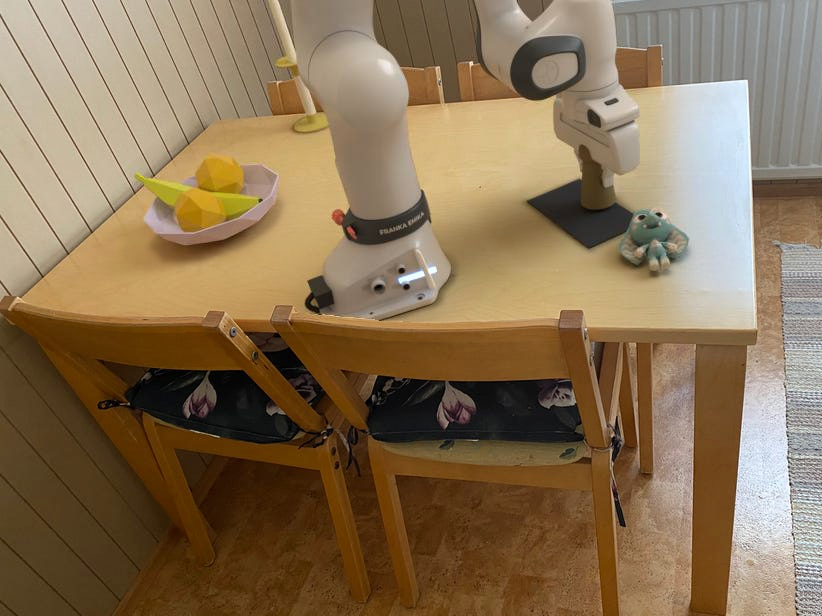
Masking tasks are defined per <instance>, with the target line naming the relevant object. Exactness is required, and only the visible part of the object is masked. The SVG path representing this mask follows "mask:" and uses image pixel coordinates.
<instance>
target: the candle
mask: <svg viewBox="0 0 822 616" xmlns="http://www.w3.org/2000/svg"><path fill="white" fill-rule="evenodd" d="M267 2H268V4H269V8H270V11H271V14H272V17H273V20H274V23H275V25H276V28H277V31H278V35H279V37H280V40H281V43H282V47H283V48H284V52H285V56H283V57H281V58H278V59H277V60H276V61H275V63H274V65H275V67H276V68H277V69H290V72H291V75H292V77H293V81H294V83H295V86H296V90H297V92H298V95H299V98H300V102H301V104H302V107H303V110H304V114H305V117H303V118H301V119H299V120H298V121H297V122H296V123H294V126H293V129H294V130H295V132H297V133H299V134H308V133H313V132H318V131H320V130H323V129H325V128H327V127H329V124H328V121H327V118H326V116H325V113H324V112H319V113H317V110H316V107H315V104H314V101H313V99H312V96H311V95H312V94H311V92H310V91H309V90H308V89H307V88H306V86H305V85H304V83H303V82H302V80H301V77H300V74H299V71H298V67H297V61H296V50H295V45H294V44H293V41H292V37H291V35H290V32H289V28H288V26H287V22H286V19H285V16H284V13H283V10H282V7H281V4H280V1H279V0H267Z"/></svg>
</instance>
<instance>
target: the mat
mask: <svg viewBox="0 0 822 616" xmlns="http://www.w3.org/2000/svg"><path fill="white" fill-rule="evenodd" d="M581 187H582V178H578V179H575V180H573V181H571V182H569V183H566V184H564V185H561V186H559V187H557V188H553V189H552V190H549V191H547V192H545V193H542V194H539V195H537V196H535V197H533V198H530V199H528V200H527V203H528V204H529V205H531V206H532V207H533V208H534V209H536V210H537V211H538V212H540V213H541V214H542V215H543V216H544V217H546V218H547V219H549V220H550V221H551V222H553V223H554V224H555V225H557V227H560V228H561V229H562V230H563V231H565V232H566V233H567V234H569V235H570V236H572V237H573V238H574V239H575V240H577V241H578V242H579V243H581V245H583V246H584V247H586V248H587V249H589V250H590V249H592V248H594V247H596V246H598V245H601V244H603V243H605V242H608V241H609V240H612V239H614V238H616V237H619V236H621V235H623V234H625V233H626V231H627V230H628V228H629V225H630V222H631V220H632V217H633V215H634V213H633V212H631V211H630V210H629V209H627V208H625V207H624V206H622V205H621V204H619V203H618V202H617V201H615V203H614V204H613V205H611V206H609V207H607V208H604V209H598V210H593V209H587V208H585V207H583V206H582V205H581Z"/></svg>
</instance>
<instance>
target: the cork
mask: <svg viewBox="0 0 822 616" xmlns="http://www.w3.org/2000/svg"><path fill="white" fill-rule="evenodd" d="M579 157H580V159H581V160H582V161H583V167H582V172H581V180H582V187H581V205H582V206H583V207H585V208H587V209H593V210H598V209H604V208H607V207H609V206H611V205H613V204H614V203H615V202H617V196H616V191H615V186H614V184H613V185H612V186H609V187H607V188H606V187H604V186H602V185H601V184H600V179H599V175H602V174H603V171H604V170H603V169H602V167H601V164H599V163H598V162H596V161H594V160H593V159H592V157H591V154H590V151H589V149H588V148H587V147H586V146H584V145H582V144H580V146H579Z"/></svg>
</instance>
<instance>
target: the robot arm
mask: <svg viewBox="0 0 822 616" xmlns="http://www.w3.org/2000/svg"><path fill="white" fill-rule="evenodd" d="M472 4H473V8H474V12H475V17H476V18H475V19H476V38H475V52H476V57H477V60H478V63H479V65H480V67H481V68H482V70H483V71H484V72H485V73H486V74H487V75H488V76H489V77H491V78H493V79H495V80H497V81H499V82H501V83H502V84H503V85H505V86H506V87H507V88H509V90H511V91H513V92H514V93H516V94H517V95H518V96H520V97H522V98H523V99H525V100H528V101H531V102H532V101H534V102H540V101H544V100H547V99H550V98H552V97H554V96H555V97H556V98H555V99H554V101H553V105H552V119H553V120H552V122H553V132H554V134H555V137H556V139H557V140H559V141H561V142H562V143H564V144H565V145H568V146H569V147H571V148H572V149H573V152H574V155H575V158H576V160H577V162H578V164H579V171H580V173H582V167H583V161H582V160H581V159H580V157H579V146H580V144H582V145H584V146H586V147H587V148H588V149H589V151H590V154H591V157H592V159H593V160H594V161H596V162H598V163H599V164H601V167H602V169H603V170H604V171H603V174H602V175H599V179H600V184H601V185H602V186H604V187H606V188H607V187H609V186H612V185H613V186H614V184H615V183H614V175H615V174H616V175H617V176H623V175H626V174H629V173H631V172H633V171H635V170H636V169H637V168H638V167H639V165H640V162H641V137H640V131H639V130H640V129H639V126H638V123H637V122H636V119H638V118H639V117H640V105H639V104H638V103H637V102H636V101H635V100H634V99H633V98H632V97H631V95H629V94H628V93H627V91H626V89H625V88H624V86H623V85H622V84H621V83H620V81H619V80H620V79H619V72H618V68H617V65H616V55H617V49H618V44H617V28H616V19H615V13H614V8H613V4H612V1H611V0H552V2H551V3H550V4H549V5H548V7H547V8H546V9H545V10H544V11H543V12H542V13H541V14H540V15H539V16H538V17H536V18H535V19H534V20H533V21H532V20H531V19H530V18H529V17H528V16H527V15H526V14H525V13H524V11H523V10H522V9H521V6H520V5H519V4H518V1H517V0H472ZM290 7H291V8H290V9H291V21H292V22H291V24H292V32H293V42H294V49H295V52H296V61H297V67H298V71H299V74H300V77H301V80H302V82H303V83H304V85H305V86H306V88H307V89H308V90H309V92H310V94H311V95H312V96H313V97H314V98H315V99H316V101H317V102H318V104H319V106H320V108H321V109H322V111H323V113H325V116H326V118H327V121H328V124H329V126H328V128H329V132H330V137H331V141H332V146H333V150H334V151H333V152H334V165H335V168H336V170H337V174H338V177H339V180H340V182H341V185H342V188H343V191H344V194H345V197H346V200H347V204H348V209H347V211H346V213H344V211H343V210H342V209H340V208H336V209H334V210H333V211H332V214H331V219H332V221H333V222H334V223H335V224H336V225H337V226H341V229H342V231H343V235H342V237H341V239H340V240H339V241H338V243H337V244H336V245H335V246H334V248H332V250H331V251H330V253H329V254H328V255H327V256H326V258H325V259H324V260H323V264H322V274H321V275H317V276H315V277H312V278H310V279H308V280H307V279H306V282H307V284H308V287H309V290H310V293H309V294H308V295H307V297H305V299H304V307H305V308H306V310H308V311H310V312H312V313H315V314H320V315H321V314H325V315H334V316H340V317H354V318H365V319H375V320H378V321H381V320H384V319H388V318H391V317H393V316H397V315H400V314H403V313H406V312H409V311H413V310H416V309H419V308H422V307H425V306H429V305H431V304H433V303H435V302H436V300H437V298H438V295H439V292H440V290H441V288H442V287H443V286H444V284H445V283H446V282H447V281H448V279H449V278H450V276H451V272H452V265H451V263H450V260H449V259H448V258H447V257H446V255H445V253H444V251H443V250H442V247H441V246H440V244H439V241H438V239H437V235H436V233H435V231H434V229H433V226H432V222H433V221H432V216H431V214H432V213H431V209H430V206H429V202H428V199H427V196H426V194H425V191H424V189H421V186H420V181H419V179H418V178H419V177H418V174H417V173H418V172H417V170H416V166H415V161H414V157H413V154H412V148H411V144H410V139H409V125H408V124H409V122H408V121H409V120H408V109H407V108H408V105H409V99H410V92H409V91H410V90H409V85H408V81H407V79H406V77H405V74H404V72H403V70H402V68H401V66H400V64H399V63H398V61H397V59H396V58H395V57H394V55H393V54H392V53H391V52H390V51H388V50H387V49H386V48H384V46H382V45H381V44H379V43H378V41H377V37H376V35H375V31H374V0H290ZM314 300H315V304H316V305H313V304H312V301H314Z"/></svg>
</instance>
